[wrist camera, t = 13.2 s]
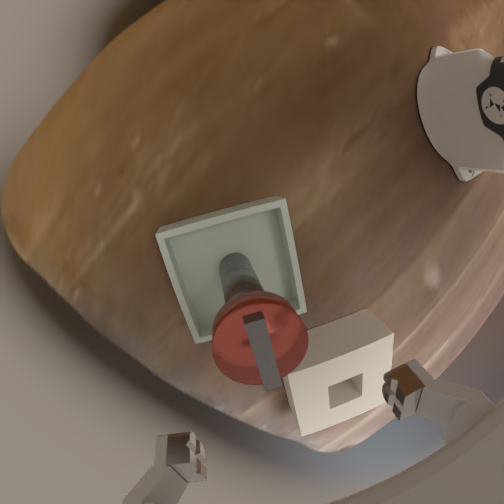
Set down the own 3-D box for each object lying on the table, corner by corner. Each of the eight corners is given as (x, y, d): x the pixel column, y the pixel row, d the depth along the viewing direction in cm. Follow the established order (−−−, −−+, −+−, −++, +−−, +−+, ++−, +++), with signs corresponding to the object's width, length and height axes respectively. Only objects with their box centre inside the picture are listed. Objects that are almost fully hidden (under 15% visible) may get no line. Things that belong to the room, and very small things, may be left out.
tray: (276, 194, 26) (285, 198, 24) (297, 298, 30) (306, 312, 27) (160, 226, 25) (154, 234, 23) (195, 327, 29) (195, 344, 26)
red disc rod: (267, 284, 28) (318, 376, 15) (216, 299, 28) (230, 403, 14) (255, 234, 26) (306, 301, 13) (200, 249, 26) (199, 332, 13)
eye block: (367, 307, 32) (393, 332, 26) (367, 375, 36) (386, 401, 30) (273, 340, 31) (287, 374, 25) (289, 404, 35) (301, 436, 29)
